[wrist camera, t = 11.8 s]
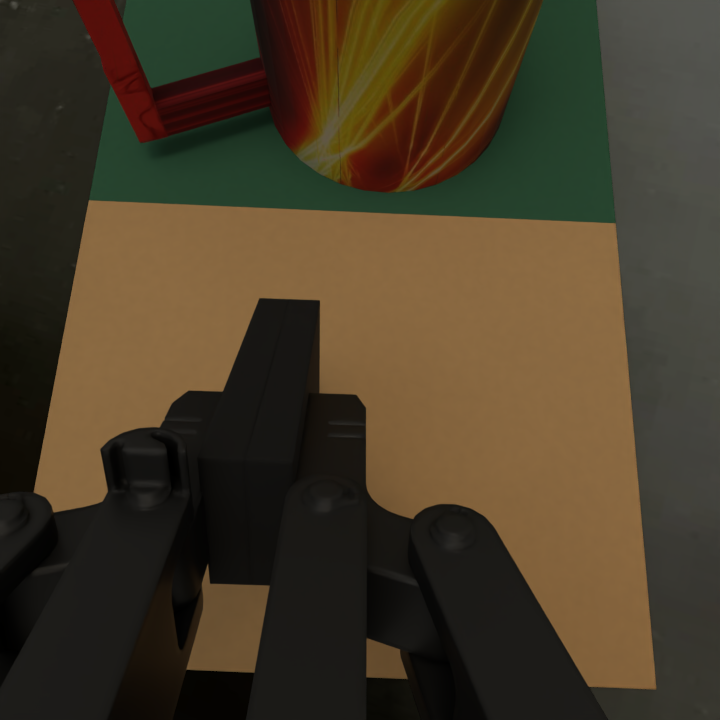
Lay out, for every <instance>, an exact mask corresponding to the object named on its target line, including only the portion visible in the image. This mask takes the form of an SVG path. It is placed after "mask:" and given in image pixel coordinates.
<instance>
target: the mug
mask: <svg viewBox="0 0 720 720" xmlns="http://www.w3.org/2000/svg"><path fill="white" fill-rule="evenodd" d="M73 2H74V4H75V6H76V8H77V10H78V12H79V14H80V16H81V18H82V21H83V23H84V25H85V27H86V29H87V31H88V33H89V35H90V37H91V39H92V41H93V43H94V45H95V47H96V49H97V51H98V53H99V55H100V57H101V61H102V65H103V70H104V72H105V74H106V76H107V78H108V80H109V82H110V84H111V86H112V88H113V90H114V92H115V94H116V96H117V98H118V100H119V102H120V104H121V106H122V108H123V110H124V112H125V114H126V116H127V118H128V120H129V122H130V124H131V126H132V128H133V130H134V132H135V134H136V136H137V138H138V140H139V142H140V143H145V142H149V141H154V140H158V139H162V138H166V137H168V136H171V135H174V134H178V133H181V132H184V131H188V130H191V129H195V128H198V127H201V126H205V125H208V124H212V123H215V122H218V121H222V120H225V119H228V118H232V117H235V116H239V115H242V114H245V113H249V112H252V111H255V110H259V109H262V108H266V107H269V108H270V112H271V115H272V118H273V121H274V124H275V127H276V129H277V130H278V132H279V134H280V135H281V137H282V139H283V141H284V142H285V144H286V145H287V146H288V147H289V148H290V150H291V151H292V152H293V153H294V154H295V155H296V156H297V157H298V158H299V159H300V160H301V161H302V162H303V163H305V164H306V165H307V166H309V167H310V168H312V169H313V170H314V171H316V172H317V173H318V174H320V175H322V176H324V177H327V178H329V179H331V180H333V181H335V182H337V183H339V184H342V185H346V186H349V187H353V188H357V189H360V190H364V191H375V192H386V193H392V192H404V191H414V190H418V189H422V188H426V187H429V186H433V185H437V184H439V183H441V182H443V181H445V180H447V179H449V178H451V177H454V176H456V175H458V174H459V173H460V172H462V171H463V170H464V169H466V168H467V167H468V166H470V165H471V164H472V163H474V162H475V161H476V160H477V159H478V158H479V157H480V155H481V154H482V153H483V152H484V151H485V150H486V149H487V148H488V146H489V145H490V143H491V141H492V140H493V138H494V136H495V134H496V132H497V131H498V129H499V126H500V123H501V121H502V118H503V115H504V112H505V109H506V106H507V103H508V100H509V97H510V95H511V92H512V89H513V86H514V83H515V80H516V77H517V74H518V71H519V69H520V66H521V63H522V60H523V57H524V54H525V51H526V48H527V46H528V43H529V40H530V37H531V34H532V31H533V28H534V25H535V22H536V20H537V17H538V14H539V11H540V8H541V5H542V2H543V0H250V3H251V9H252V14H253V20H254V25H255V31H256V37H257V42H258V48H259V53H260V57H259V58H255V59H252V60H248V61H245V62H241V63H238V64H234V65H231V66H227V67H224V68H220V69H217V70H213V71H210V72H206V73H203V74H199V75H196V76H192V77H189V78H185V79H182V80H178V81H175V82H171V83H168V84H164V85H161V86H157V87H154V88H151V87H150V85H149V82H148V80H147V78H146V75H145V73H144V71H143V68H142V66H141V63H140V61H139V59H138V56H137V54H136V52H135V49H134V47H133V44H132V42H131V40H130V37H129V35H128V33H127V30H126V28H125V25H124V23H123V21H122V18H121V16H120V14H119V11H118V9H117V6H116V4H115V2H114V0H73Z"/></svg>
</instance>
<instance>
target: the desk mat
mask: <svg viewBox="0 0 720 720" xmlns="http://www.w3.org/2000/svg"><path fill="white" fill-rule="evenodd" d="M123 23H124V25H125V28H126V30H127V33H128V35H129V37H130V40H131V42H132V44H133V47H134V49H135V52H136V54H137V56H138V59H139V61H140V63H141V66H142V68H143V71H144V73H145V75H146V78H147V80H148V82H149V85H150V87H151V88H154V87H157V86H161V85H164V84H168V83H171V82H175V81H178V80H182V79H185V78H189V77H192V76H196V75H199V74H203V73H206V72H210V71H213V70H217V69H220V68H224V67H227V66H231V65H234V64H238V63H241V62H245V61H248V60H252V59H255V58H259V57H260V53H259V48H258V42H257V37H256V31H255V25H254V20H253V14H252V9H251V3H250V0H127V1H126V7H125V12H124V17H123ZM259 298H272V299H300V300H320V388H319V393H327V394H356V395H357V396H358V398H359V399H360V400H361V402H362V403H363V404H364V406H365V407H366V486H367V491H368V493H369V494H370V496H371V498H372V499H373V500H374V501H375V502H376V503H377V504H378V505H379V506H381V507H383V508H384V509H386V510H388V511H390V512H392V513H395V514H398V515H400V516H404V517H408V518H411V519H414V517H415V515H417V514H418V513H419V512H421V511H422V510H423V509H424V508H427V507H430V506H434V505H437V504H456V505H460V506H464V507H468V508H471V509H473V510H475V511H476V512H478V513H480V514H482V515H483V516H485V517H486V518H487V520H488V521H489V522H490V523H491V524H492V525H493V526H494V528H495V529H496V531H497V533H498V534H499V536H500V538H501V540H502V541H503V543H504V545H505V546H506V548H507V550H508V551H509V553H510V555H511V556H512V558H513V560H514V561H515V563H516V565H517V567H518V568H519V570H520V572H521V573H522V575H523V577H524V578H525V580H526V582H527V583H528V585H529V587H530V589H531V590H532V592H533V594H534V595H535V597H536V599H537V600H538V602H539V604H540V605H541V607H542V609H543V610H544V612H545V614H546V616H547V617H548V619H549V621H550V622H551V624H552V626H553V627H554V629H555V631H556V632H557V634H558V636H559V638H560V639H561V641H562V643H563V644H564V646H565V648H566V649H567V651H568V653H569V654H570V656H571V658H572V660H573V661H574V663H575V665H576V666H577V668H578V670H579V671H580V673H581V675H582V676H583V678H584V680H585V681H586V683H587V685H588V687H611V688H635V689H656V680H655V668H654V657H653V646H652V634H651V623H650V611H649V600H648V588H647V577H646V566H645V554H644V543H643V531H642V520H641V509H640V497H639V486H638V474H637V463H636V451H635V440H634V429H633V417H632V406H631V394H630V383H629V372H628V360H627V349H626V337H625V326H624V314H623V303H622V292H621V280H620V269H619V257H618V246H617V235H616V223H615V212H614V200H613V189H612V177H611V166H610V155H609V143H608V132H607V120H606V109H605V98H604V86H603V75H602V63H601V52H600V40H599V29H598V18H597V6H596V0H543V2H542V5H541V8H540V11H539V14H538V17H537V20H536V22H535V25H534V28H533V31H532V34H531V37H530V40H529V43H528V46H527V48H526V51H525V54H524V57H523V60H522V63H521V66H520V69H519V71H518V74H517V77H516V80H515V83H514V86H513V89H512V92H511V95H510V97H509V100H508V103H507V106H506V109H505V112H504V115H503V118H502V121H501V123H500V126H499V129H498V131H497V132H496V134H495V136H494V138H493V140H492V141H491V143H490V145H489V146H488V148H487V149H486V150H485V151H484V152H483V153H482V154H481V155H480V157H479V158H478V159H477V160H476V161H475V162H474V163H472V164H471V165H470V166H468V167H467V168H466V169H464V170H463V171H462V172H460V173H459V174H458V175H456V176H454V177H451V178H449V179H447V180H445V181H443V182H441V183H439V184H437V185H433V186H429V187H426V188H422V189H418V190H414V191H404V192H392V193H386V192H375V191H364V190H360V189H357V188H353V187H349V186H346V185H342V184H339V183H337V182H335V181H333V180H331V179H329V178H327V177H324V176H322V175H320V174H318V173H317V172H316V171H314V170H313V169H312V168H310V167H309V166H307V165H306V164H305V163H303V162H302V161H301V160H300V159H299V158H298V157H297V156H296V155H295V154H294V153H293V152H292V151H291V150H290V148H289V147H288V146H287V145H286V144H285V142H284V141H283V139H282V137H281V135H280V134H279V132H278V130H277V129H276V127H275V124H274V121H273V118H272V115H271V112H270V108H269V107H266V108H262V109H259V110H255V111H252V112H249V113H245V114H242V115H239V116H235V117H232V118H228V119H225V120H222V121H218V122H215V123H212V124H208V125H205V126H201V127H198V128H195V129H191V130H188V131H184V132H181V133H178V134H174V135H171V136H168V137H166V138H162V139H158V140H154V141H149V142H145V143H140V142H139V140H138V138H137V136H136V134H135V132H134V130H133V128H132V126H131V124H130V122H129V120H128V118H127V116H126V114H125V112H124V110H123V108H122V106H121V104H120V102H119V100H118V98H117V96H116V94H115V92H114V90H113V88H112V86H110V91H109V97H108V102H107V107H106V113H105V118H104V123H103V129H102V134H101V139H100V144H99V150H98V155H97V160H96V166H95V171H94V176H93V182H92V187H91V192H90V197H89V203H88V208H87V213H86V219H85V224H84V229H83V235H82V240H81V245H80V250H79V256H78V261H77V266H76V272H75V277H74V282H73V287H72V293H71V298H70V303H69V309H68V314H67V319H66V325H65V330H64V335H63V340H62V346H61V351H60V356H59V362H58V367H57V372H56V378H55V383H54V388H53V393H52V399H51V404H50V409H49V415H48V420H47V425H46V431H45V436H44V441H43V446H42V452H41V457H40V462H39V468H38V473H37V478H36V484H35V489H34V493H36V494H39V495H41V496H43V497H46V498H47V500H48V501H49V503H50V504H51V505H52V509H53V512H59V511H64V510H70V509H75V508H81V507H86V506H89V505H93V504H97V503H100V502H102V501H103V499H104V498H105V496H106V494H107V492H108V489H107V483H106V478H105V473H104V467H103V462H102V457H101V451H100V449H101V448H102V447H103V446H104V445H105V444H106V443H107V442H108V441H109V440H110V439H112V438H114V437H116V436H117V435H119V434H121V433H123V432H127V431H130V430H134V429H137V428H147V427H159V428H160V426H161V424H162V422H163V421H164V420H165V416H166V414H167V412H168V410H169V408H170V406H171V404H172V403H173V402H174V401H175V400H177V399H178V398H179V397H181V396H182V395H183V394H185V393H186V392H187V391H188V390H192V391H220V392H223V390H224V387H225V385H226V382H227V380H228V377H229V375H230V372H231V369H232V367H233V364H234V362H235V359H236V357H237V354H238V351H239V349H240V346H241V344H242V341H243V339H244V336H245V334H246V331H247V328H248V326H249V323H250V321H251V318H252V316H253V313H254V310H255V308H256V305H257V303H258V300H259ZM269 587H270V586H264V585H233V584H210V579H209V569H208V565H207V568H206V571H205V575H204V578H203V582H202V590H203V611H202V615H201V618H200V622H199V626H198V629H197V633H196V637H195V640H194V644H193V647H192V651H191V655H190V658H189V662H188V666H187V669H186V670H206V671H229V672H253V673H254V672H255V666H256V660H257V655H258V649H259V643H260V638H261V632H262V626H263V621H264V615H265V609H266V604H267V598H268V592H269ZM366 677H372V678H396V679H408V678H407V675H406V672H405V669H404V666H403V663H402V659H401V656H400V649H397V648H394V647H391V646H388V645H385V644H382V643H379V642H377V641H374V640H371V639H368V638H367V667H366Z"/></svg>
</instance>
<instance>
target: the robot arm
mask: <svg viewBox="0 0 720 720" xmlns="http://www.w3.org/2000/svg"><path fill="white" fill-rule="evenodd" d="M319 388H320V300H300V299H272V298H259V300H258V303H257V305H256V308H255V310H254V313H253V316H252V318H251V321H250V323H249V326H248V328H247V331H246V334H245V336H244V339H243V341H242V344H241V346H240V349H239V351H238V354H237V357H236V359H235V362H234V364H233V367H232V369H231V372H230V375H229V377H228V380H227V382H226V385H225V387H224V390H223V392H220V391H192V390H188V391H187V392H186V393H185V394H183V395H182V396H181V397H179V398H178V399H177V400H175V401H174V402H173V403H172V404H171V406H170V408H169V410H168V412H167V414H166V416H165V420H164V421H163V422H162V424H161V426H160V428H159V427H147V428H137V429H134V430H130V431H127V432H123V433H121V434H119V435H117V436H116V437H114V438H112V439H110V440H109V441H108V442H107V443H106V444H105V445H104V446H103V447H102V448H101V449H100V451H101V457H102V462H103V467H104V473H105V478H106V483H107V489H108V492H107V494H106V496H105V498H104V499H103V501H102V502H100V503H97V504H93V505H89V506H86V507H81V508H75V509H70V510H64V511H59V512H53V509H52V505H51V504H50V503H49V501H48V500H47V498H46V497H43V496H41V495H39V494H36V493H33V492H13V493H8V494H2V495H0V720H173V716H174V713H175V709H176V706H177V702H178V698H179V695H180V691H181V687H182V684H183V680H184V676H185V673H186V669H187V666H188V662H189V658H190V655H191V651H192V647H193V644H194V640H195V637H196V633H197V629H198V626H199V622H200V618H201V615H202V611H203V590H202V582H203V578H204V575H205V571H206V568H207V565H208V569H209V579H210V584H233V585H264V586H270V587H269V592H268V598H267V604H266V609H265V615H264V621H263V626H262V632H261V638H260V643H259V649H258V655H257V660H256V666H255V672H254V677H253V683H252V689H251V694H250V700H249V706H248V711H247V717H246V720H366V667H367V638H368V639H371V640H374V641H377V642H379V643H382V644H385V645H388V646H391V647H394V648H397V649H400V656H401V659H402V663H403V666H404V669H405V672H406V675H407V678H408V681H409V684H410V687H411V690H412V693H413V696H414V699H415V702H416V705H417V709H418V712H419V715H420V718H421V720H608V719H607V717H606V715H605V714H604V712H603V710H602V709H601V707H600V705H599V703H598V702H597V700H596V698H595V697H594V695H593V693H592V692H591V690H590V688H589V687H588V685H587V683H586V681H585V680H584V678H583V676H582V675H581V673H580V671H579V670H578V668H577V666H576V665H575V663H574V661H573V660H572V658H571V656H570V654H569V653H568V651H567V649H566V648H565V646H564V644H563V643H562V641H561V639H560V638H559V636H558V634H557V632H556V631H555V629H554V627H553V626H552V624H551V622H550V621H549V619H548V617H547V616H546V614H545V612H544V610H543V609H542V607H541V605H540V604H539V602H538V600H537V599H536V597H535V595H534V594H533V592H532V590H531V589H530V587H529V585H528V583H527V582H526V580H525V578H524V577H523V575H522V573H521V572H520V570H519V568H518V567H517V565H516V563H515V561H514V560H513V558H512V556H511V555H510V553H509V551H508V550H507V548H506V546H505V545H504V543H503V541H502V540H501V538H500V536H499V534H498V533H497V531H496V529H495V528H494V526H493V525H492V524H491V523H490V522H489V521H488V520H487V518H486V517H485V516H483V515H482V514H480V513H478V512H476V511H475V510H473V509H471V508H468V507H464V506H460V505H456V504H437V505H434V506H430V507H427V508H424V509H423V510H422V511H421V512H419V513H418V514H417V515H415V517H414V519H411V518H408V517H404V516H400V515H398V514H395V513H392V512H390V511H388V510H386V509H384V508H383V507H381V506H379V505H378V504H377V503H376V502H375V501H374V500H373V499H372V498H371V496H370V494H369V493H368V491H367V486H366V407H365V406H364V404H363V403H362V402H361V400H360V399H359V398H358V396H357V395H356V394H327V393H319Z"/></svg>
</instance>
